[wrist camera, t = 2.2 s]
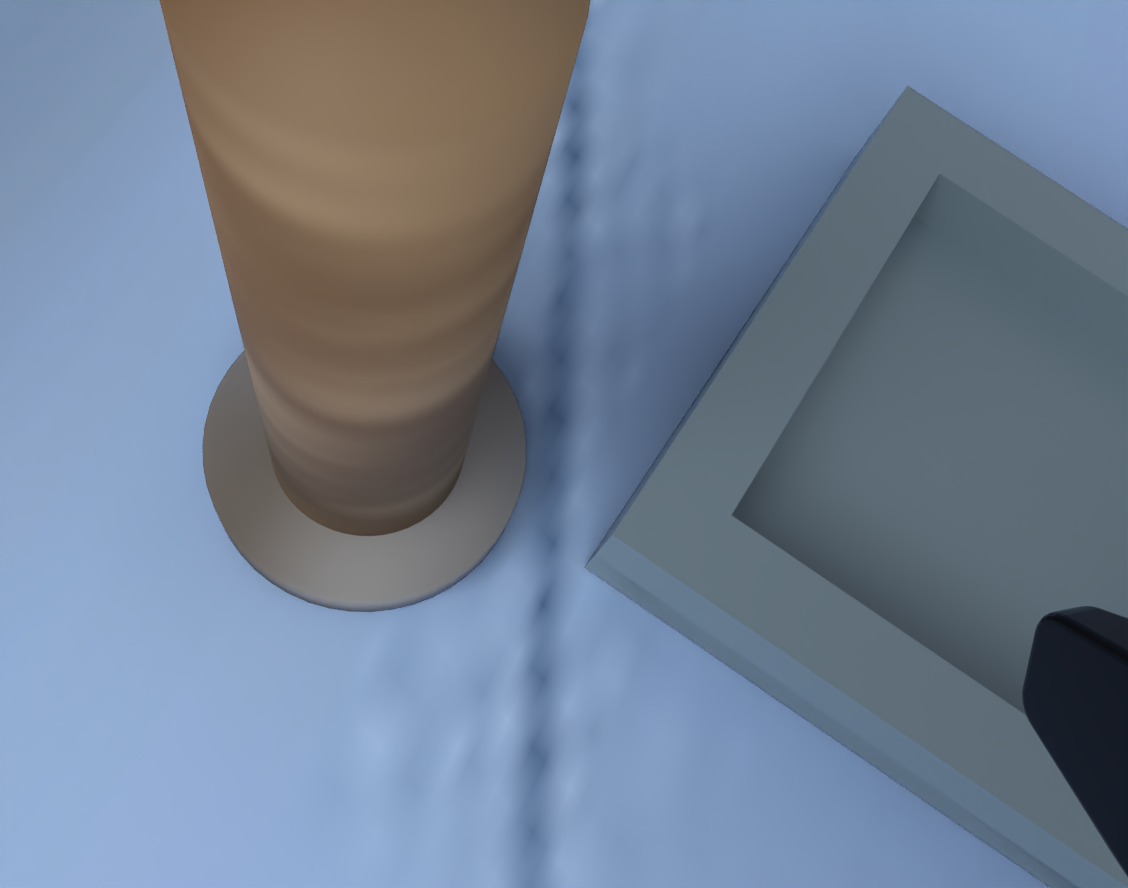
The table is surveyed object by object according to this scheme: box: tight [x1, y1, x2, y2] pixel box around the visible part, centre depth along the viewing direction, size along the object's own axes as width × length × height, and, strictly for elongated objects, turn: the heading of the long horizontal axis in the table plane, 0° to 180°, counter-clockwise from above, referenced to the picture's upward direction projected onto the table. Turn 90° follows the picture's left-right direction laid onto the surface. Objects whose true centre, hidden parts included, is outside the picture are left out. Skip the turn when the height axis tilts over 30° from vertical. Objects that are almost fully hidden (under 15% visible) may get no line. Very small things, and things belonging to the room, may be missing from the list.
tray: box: [585, 86, 1128, 888], centre depth 22 cm, size 13×13×2 cm
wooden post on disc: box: [160, 0, 590, 612], centre depth 15 cm, size 6×6×13 cm
